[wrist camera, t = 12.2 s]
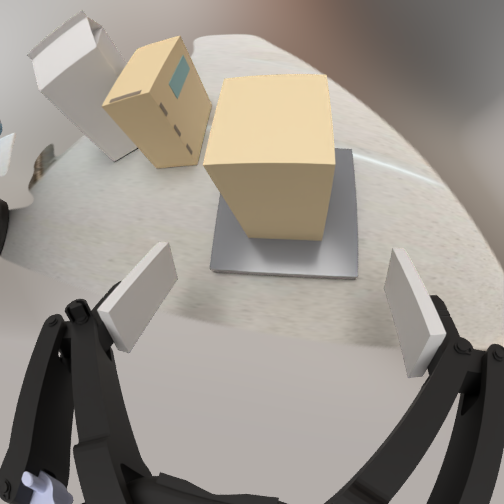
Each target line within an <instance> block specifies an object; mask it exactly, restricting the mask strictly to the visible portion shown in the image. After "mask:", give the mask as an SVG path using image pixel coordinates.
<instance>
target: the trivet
mask: <svg viewBox="0 0 504 504" xmlns="http://www.w3.org/2000/svg"><path fill="white" fill-rule="evenodd" d="M334 150H335V171H334V177H333V183H332V189H331V195H330V201H329V206H328V212H327V217H326V222H325V228H324V233H323V238H322V241H314V240H292V239H268V238H248V236H247V235H246V233H245V232H244V230H243V228H242V227H241V225H240V224H239V222H238V220H237V219H236V217H235V216H234V214H233V212H232V211H231V209H230V208H229V206H228V204H227V203H226V201H225V200H224V198H223V196H222V195H221V193H220V198H219V205H218V211H217V218H216V225H215V232H214V239H213V246H212V254H211V262H210V270H212V271H214V272H224V273H240V274H256V275H273V276H291V277H311V278H332V279H356V278H357V277H358V225H357V203H356V188H355V176H354V165H353V155H352V149H339V148H334Z"/></svg>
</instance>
